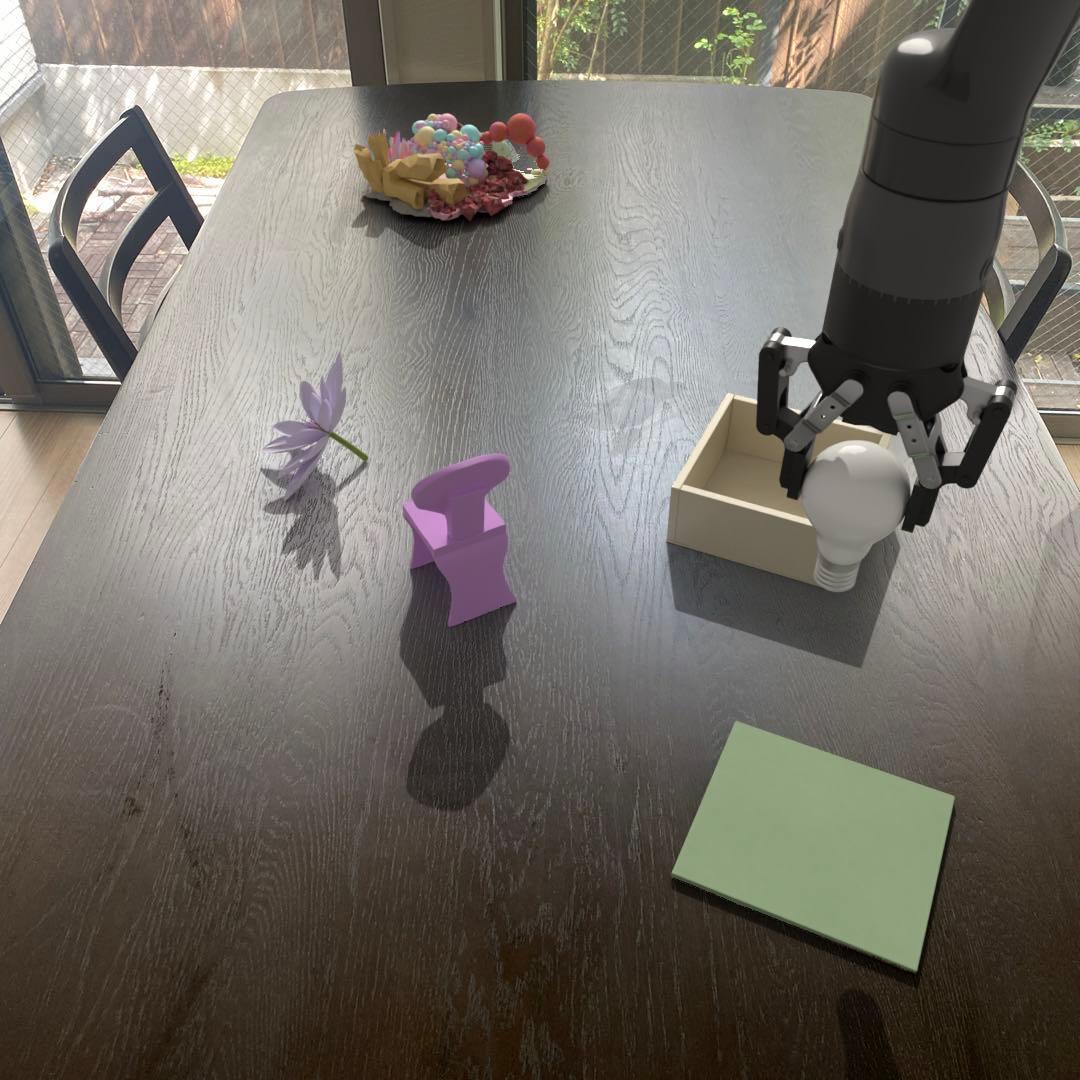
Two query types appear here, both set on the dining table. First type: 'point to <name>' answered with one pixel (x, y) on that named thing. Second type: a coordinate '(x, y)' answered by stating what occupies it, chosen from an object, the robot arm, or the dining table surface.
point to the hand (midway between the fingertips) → (851, 506)
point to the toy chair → (463, 534)
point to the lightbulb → (852, 506)
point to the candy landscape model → (451, 167)
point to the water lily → (313, 427)
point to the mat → (819, 843)
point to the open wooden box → (749, 494)
